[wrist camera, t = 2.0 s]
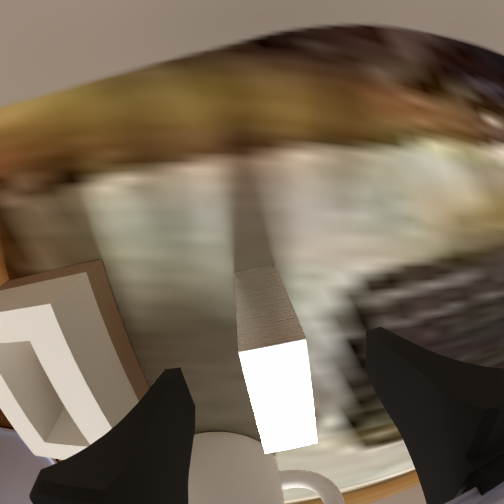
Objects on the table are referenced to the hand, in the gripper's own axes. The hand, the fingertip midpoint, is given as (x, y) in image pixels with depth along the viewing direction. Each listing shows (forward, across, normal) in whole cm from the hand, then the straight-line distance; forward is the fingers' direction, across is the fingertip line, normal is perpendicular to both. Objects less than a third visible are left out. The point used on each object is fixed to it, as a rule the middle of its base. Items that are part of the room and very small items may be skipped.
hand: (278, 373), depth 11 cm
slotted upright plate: (+5, +11, +5) cm, 13 cm away
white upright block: (+5, 0, 0) cm, 5 cm away
